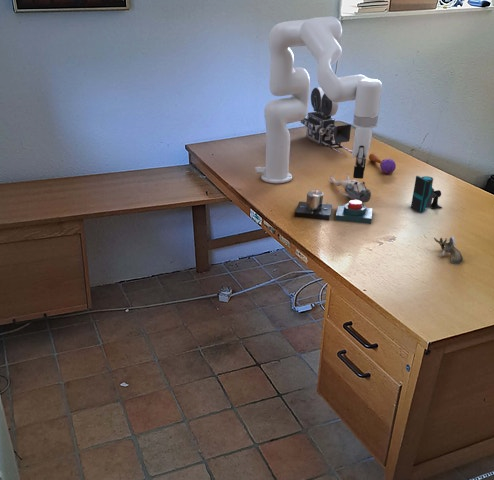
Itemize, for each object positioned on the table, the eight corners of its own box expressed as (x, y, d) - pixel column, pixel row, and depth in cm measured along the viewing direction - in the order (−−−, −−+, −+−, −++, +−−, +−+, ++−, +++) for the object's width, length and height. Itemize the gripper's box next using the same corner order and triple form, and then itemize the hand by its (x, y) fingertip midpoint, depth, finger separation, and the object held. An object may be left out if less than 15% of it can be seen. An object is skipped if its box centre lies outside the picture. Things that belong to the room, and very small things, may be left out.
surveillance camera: (450, 176, 192) (425, 180, 189) (443, 208, 198) (419, 213, 195) (439, 171, 196) (415, 175, 194) (433, 203, 203) (409, 207, 200)
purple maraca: (380, 150, 244) (399, 161, 226) (376, 164, 246) (395, 176, 229) (368, 149, 243) (386, 160, 225) (364, 162, 245) (382, 174, 227)
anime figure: (351, 168, 223) (380, 185, 195) (350, 186, 226) (378, 206, 198) (328, 170, 222) (354, 187, 195) (327, 188, 225) (352, 207, 198)
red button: (347, 209, 191) (348, 203, 190) (348, 204, 195) (349, 199, 194) (361, 210, 190) (361, 205, 189) (361, 205, 193) (362, 200, 192)
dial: (320, 211, 194) (322, 196, 191) (304, 210, 195) (305, 194, 192) (323, 205, 198) (324, 190, 195) (307, 204, 200) (308, 189, 197)
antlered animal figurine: (426, 248, 170) (443, 257, 161) (439, 228, 168) (457, 236, 160) (443, 259, 172) (461, 268, 164) (457, 239, 171) (475, 247, 162)
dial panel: (294, 217, 195) (294, 211, 194) (298, 206, 203) (299, 200, 202) (329, 220, 192) (329, 214, 191) (332, 209, 200) (332, 203, 199)
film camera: (295, 134, 282) (298, 86, 270) (316, 132, 285) (320, 84, 272) (333, 158, 249) (338, 103, 237) (356, 155, 252) (363, 101, 240)
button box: (335, 220, 192) (336, 209, 190) (337, 210, 199) (338, 200, 197) (370, 224, 189) (372, 213, 187) (372, 213, 196) (373, 203, 194)
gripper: (355, 113, 185) (349, 165, 194) (351, 127, 171) (345, 182, 180) (378, 114, 183) (371, 166, 192) (376, 128, 169) (369, 184, 178)
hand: (358, 173), depth 186 cm, fingers open, 7 cm apart
